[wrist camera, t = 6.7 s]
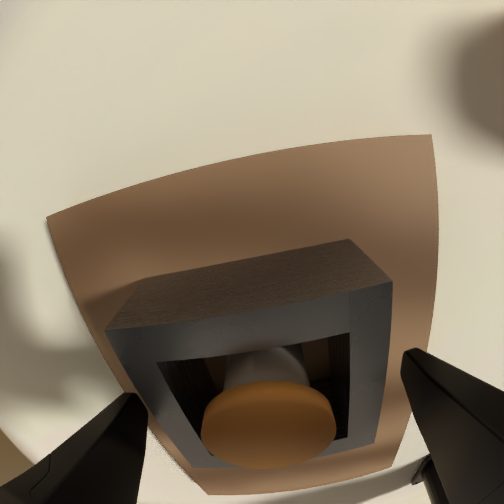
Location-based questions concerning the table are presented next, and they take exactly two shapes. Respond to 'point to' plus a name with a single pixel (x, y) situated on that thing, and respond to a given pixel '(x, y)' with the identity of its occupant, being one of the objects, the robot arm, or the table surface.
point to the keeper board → (258, 244)
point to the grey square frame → (259, 335)
